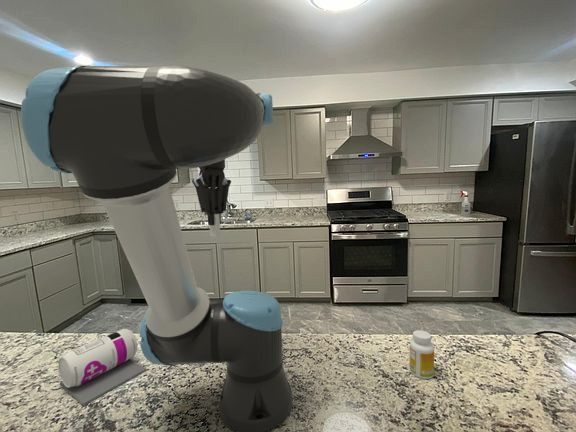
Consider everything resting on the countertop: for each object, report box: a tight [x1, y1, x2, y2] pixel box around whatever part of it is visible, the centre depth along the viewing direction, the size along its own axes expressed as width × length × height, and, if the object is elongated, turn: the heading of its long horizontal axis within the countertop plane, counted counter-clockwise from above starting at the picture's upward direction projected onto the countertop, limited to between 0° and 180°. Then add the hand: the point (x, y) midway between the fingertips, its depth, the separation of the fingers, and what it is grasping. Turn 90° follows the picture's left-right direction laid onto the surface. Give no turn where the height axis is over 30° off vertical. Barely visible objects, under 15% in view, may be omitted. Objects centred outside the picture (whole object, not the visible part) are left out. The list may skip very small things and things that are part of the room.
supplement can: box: [57, 328, 139, 388], centre depth 70 cm, size 8×8×15 cm
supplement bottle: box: [409, 329, 435, 380], centre depth 67 cm, size 5×5×10 cm
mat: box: [59, 359, 147, 407], centre depth 68 cm, size 13×14×1 cm
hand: (215, 235), depth 82 cm, fingers closed
